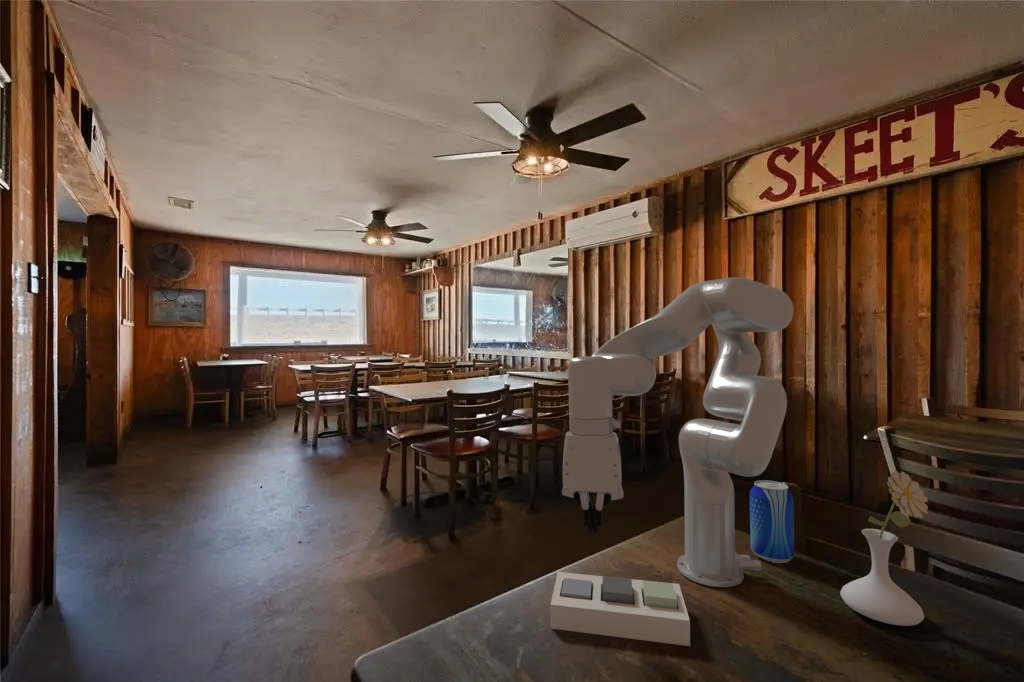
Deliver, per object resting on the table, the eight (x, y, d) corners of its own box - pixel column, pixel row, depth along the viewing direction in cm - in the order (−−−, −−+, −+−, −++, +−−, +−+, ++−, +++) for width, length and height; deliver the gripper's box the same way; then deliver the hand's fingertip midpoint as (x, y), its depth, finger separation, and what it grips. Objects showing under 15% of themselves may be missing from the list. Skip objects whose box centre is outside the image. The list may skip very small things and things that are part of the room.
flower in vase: (872, 633, 74) (870, 480, 74) (825, 594, 85) (824, 461, 85) (954, 634, 73) (952, 480, 73) (896, 595, 85) (895, 462, 85)
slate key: (591, 597, 82) (591, 580, 82) (590, 613, 77) (590, 596, 77) (564, 594, 83) (564, 578, 83) (561, 610, 78) (561, 592, 78)
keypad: (679, 606, 81) (679, 583, 82) (690, 646, 71) (689, 620, 71) (557, 592, 86) (557, 571, 86) (550, 628, 75) (550, 604, 75)
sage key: (672, 600, 79) (672, 583, 79) (677, 617, 74) (676, 599, 74) (643, 597, 80) (642, 580, 80) (645, 613, 75) (645, 595, 75)
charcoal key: (631, 596, 80) (631, 579, 80) (633, 612, 75) (632, 594, 75) (602, 593, 81) (602, 576, 81) (602, 609, 76) (602, 591, 77)
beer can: (800, 567, 95) (800, 491, 95) (757, 564, 97) (756, 489, 97) (785, 549, 103) (784, 480, 104) (745, 546, 105) (744, 478, 105)
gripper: (633, 423, 81) (636, 524, 82) (551, 421, 85) (554, 518, 85) (635, 431, 74) (637, 542, 74) (545, 429, 78) (548, 535, 78)
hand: (593, 529), depth 80 cm, fingers closed
